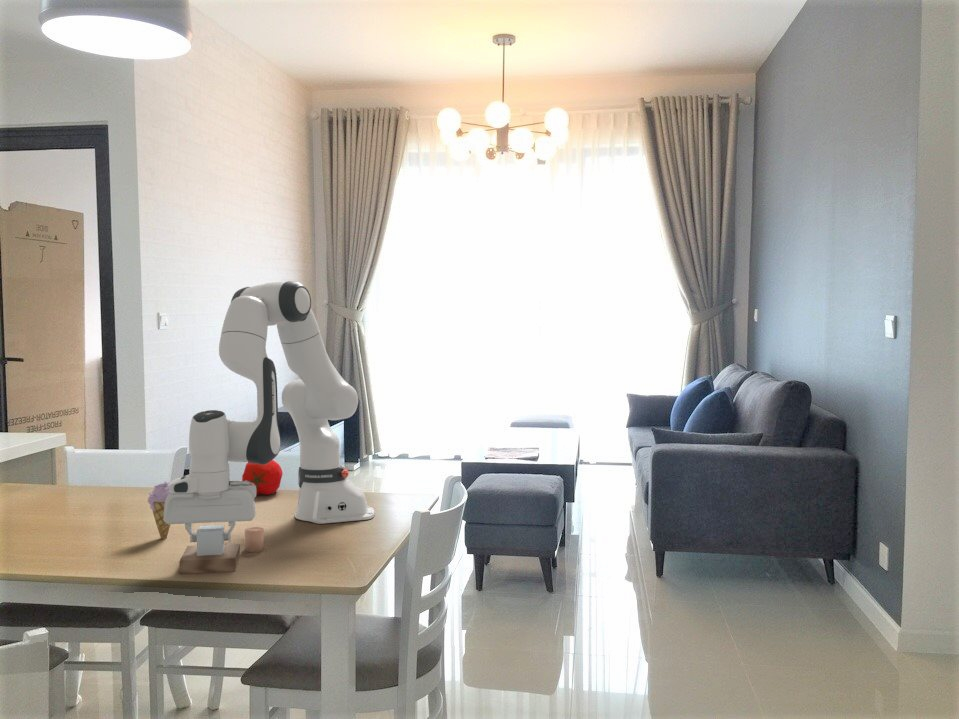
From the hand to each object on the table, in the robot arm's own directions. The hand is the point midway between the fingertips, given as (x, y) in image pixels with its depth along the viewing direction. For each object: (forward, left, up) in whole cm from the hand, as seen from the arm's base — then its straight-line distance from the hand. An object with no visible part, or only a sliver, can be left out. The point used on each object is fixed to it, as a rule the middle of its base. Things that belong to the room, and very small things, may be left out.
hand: (210, 540), depth 198 cm
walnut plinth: (0, 0, -6) cm, 6 cm away
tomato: (-7, -74, -6) cm, 74 cm away
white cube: (0, 0, -3) cm, 3 cm away
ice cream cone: (+15, -25, -6) cm, 30 cm away
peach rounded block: (-9, -11, -6) cm, 15 cm away
